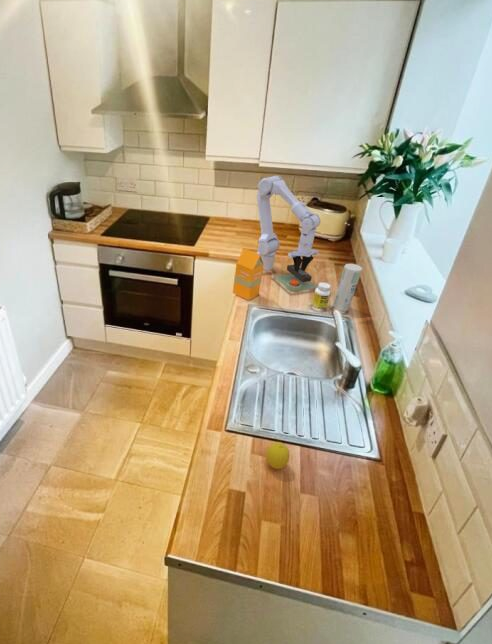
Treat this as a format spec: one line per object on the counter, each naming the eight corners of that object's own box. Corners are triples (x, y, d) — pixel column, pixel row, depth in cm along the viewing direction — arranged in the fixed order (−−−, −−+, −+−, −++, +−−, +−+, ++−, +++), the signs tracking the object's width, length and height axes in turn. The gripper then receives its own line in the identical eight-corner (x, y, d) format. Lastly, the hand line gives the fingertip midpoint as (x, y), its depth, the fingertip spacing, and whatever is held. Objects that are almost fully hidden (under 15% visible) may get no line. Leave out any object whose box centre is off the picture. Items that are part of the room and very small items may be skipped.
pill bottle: (318, 313, 165) (324, 289, 159) (307, 306, 169) (313, 283, 163) (328, 310, 167) (335, 286, 161) (318, 303, 172) (324, 280, 166)
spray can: (344, 316, 164) (358, 272, 153) (329, 310, 167) (342, 266, 156) (350, 310, 168) (364, 267, 157) (335, 304, 171) (348, 262, 160)
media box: (271, 278, 189) (272, 272, 187) (297, 275, 194) (298, 268, 192) (290, 295, 177) (291, 288, 175) (317, 291, 181) (319, 284, 179)
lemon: (261, 457, 104) (266, 436, 99) (282, 456, 104) (288, 435, 100) (267, 475, 99) (272, 455, 95) (288, 474, 99) (295, 454, 95)
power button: (288, 283, 179) (289, 279, 178) (295, 282, 180) (295, 278, 179) (292, 287, 176) (293, 283, 175) (299, 286, 178) (300, 282, 177)
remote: (286, 269, 188) (287, 264, 187) (294, 268, 189) (295, 263, 188) (302, 282, 178) (303, 277, 177) (310, 281, 179) (312, 276, 178)
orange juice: (243, 287, 181) (249, 246, 170) (258, 294, 176) (266, 252, 165) (232, 292, 176) (237, 250, 165) (248, 300, 171) (255, 257, 160)
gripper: (297, 247, 170) (290, 276, 177) (325, 244, 174) (318, 272, 181) (287, 241, 175) (282, 269, 183) (315, 238, 179) (308, 265, 187)
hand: (299, 270), depth 182 cm, fingers closed on remote, 3 cm apart
